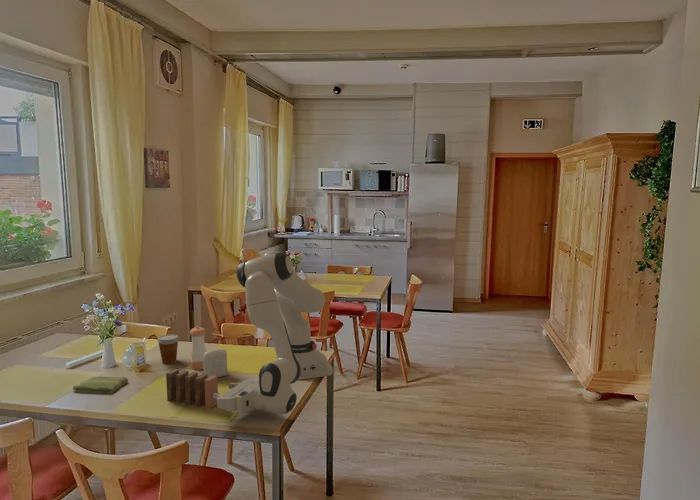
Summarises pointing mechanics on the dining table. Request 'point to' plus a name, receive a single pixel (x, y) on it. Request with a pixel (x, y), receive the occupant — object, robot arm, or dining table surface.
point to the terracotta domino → (211, 391)
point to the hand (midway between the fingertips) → (222, 390)
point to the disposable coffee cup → (168, 348)
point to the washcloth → (100, 384)
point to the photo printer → (215, 362)
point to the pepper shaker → (197, 348)
